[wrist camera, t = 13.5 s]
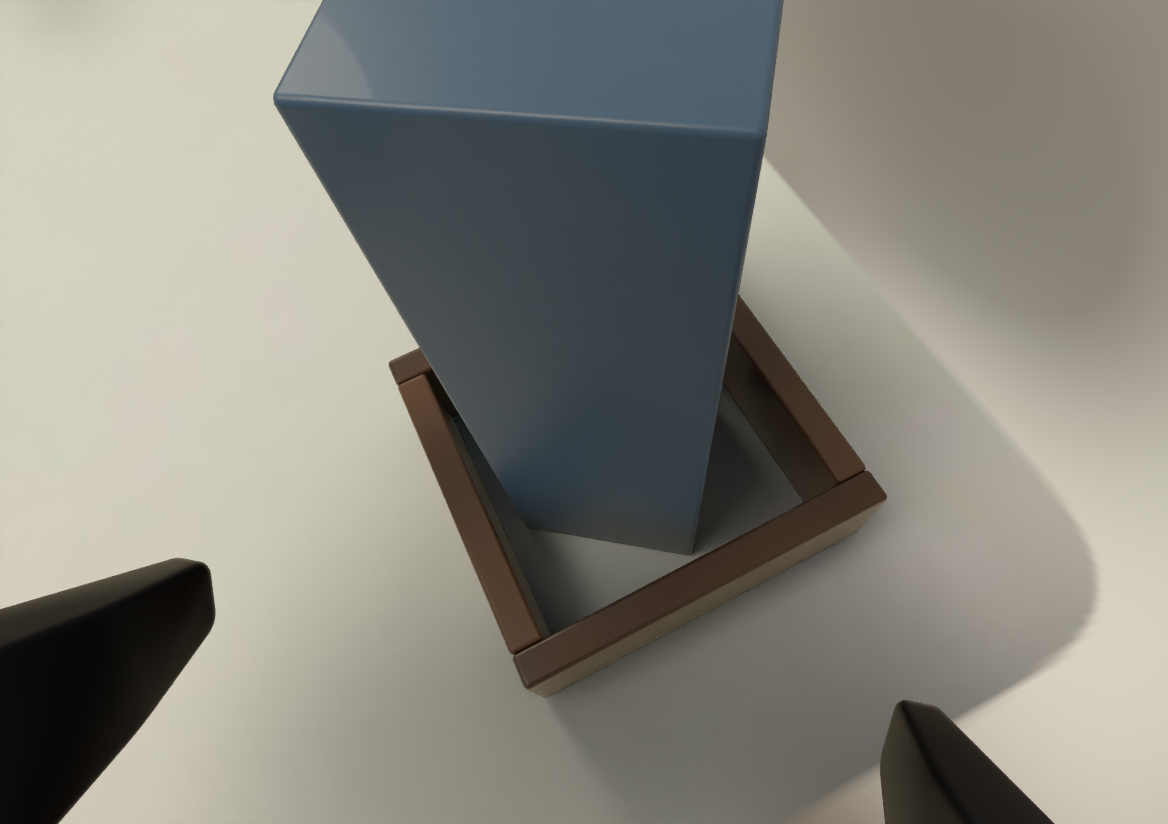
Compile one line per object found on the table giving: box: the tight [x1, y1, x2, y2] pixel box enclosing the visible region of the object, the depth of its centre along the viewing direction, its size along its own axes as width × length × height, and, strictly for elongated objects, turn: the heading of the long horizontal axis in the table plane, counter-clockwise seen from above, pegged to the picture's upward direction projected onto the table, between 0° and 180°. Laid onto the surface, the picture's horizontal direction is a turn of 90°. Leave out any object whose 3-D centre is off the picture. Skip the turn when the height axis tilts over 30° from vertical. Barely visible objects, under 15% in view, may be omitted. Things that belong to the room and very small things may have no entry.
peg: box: [273, 0, 784, 555], centre depth 12 cm, size 4×4×12 cm
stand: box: [389, 294, 887, 697], centre depth 16 cm, size 8×8×2 cm
